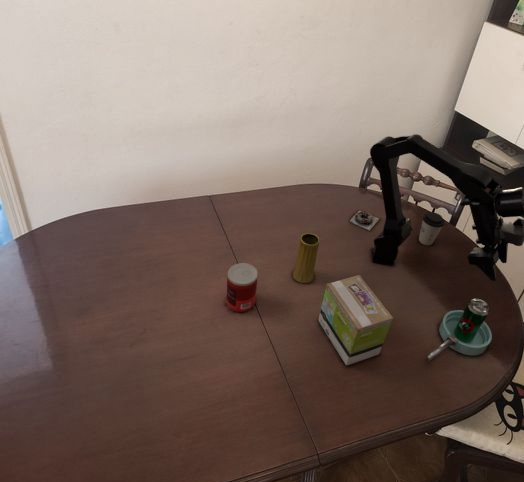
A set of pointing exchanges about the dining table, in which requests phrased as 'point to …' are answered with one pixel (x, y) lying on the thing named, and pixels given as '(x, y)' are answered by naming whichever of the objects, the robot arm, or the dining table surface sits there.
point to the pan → (465, 348)
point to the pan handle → (442, 347)
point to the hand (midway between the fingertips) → (499, 271)
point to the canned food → (241, 287)
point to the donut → (364, 220)
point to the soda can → (471, 320)
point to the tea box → (354, 319)
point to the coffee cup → (430, 228)
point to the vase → (306, 258)
